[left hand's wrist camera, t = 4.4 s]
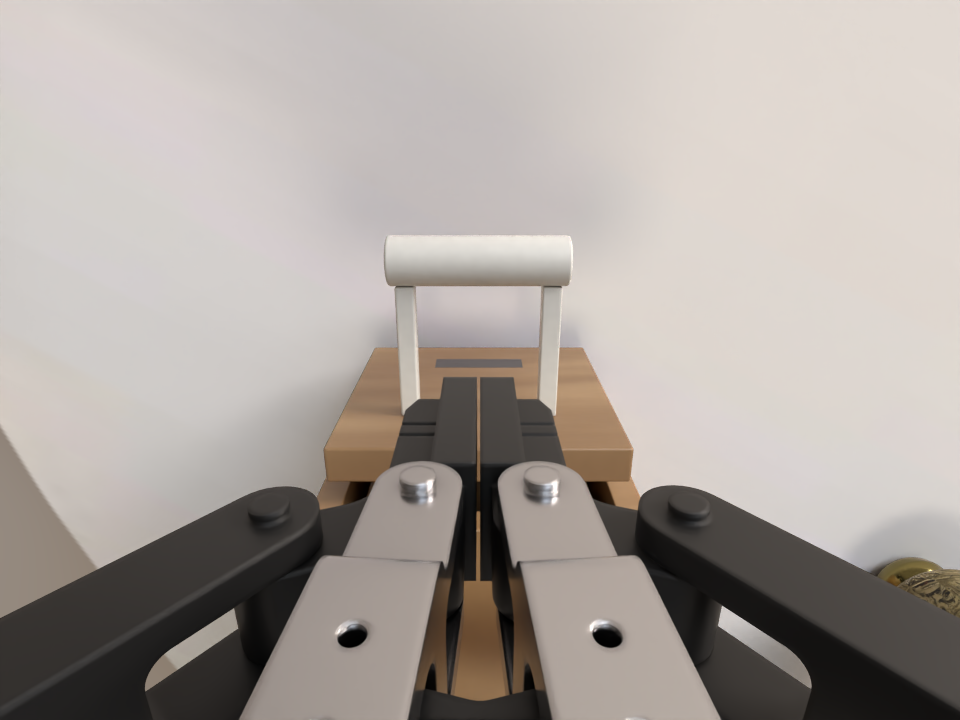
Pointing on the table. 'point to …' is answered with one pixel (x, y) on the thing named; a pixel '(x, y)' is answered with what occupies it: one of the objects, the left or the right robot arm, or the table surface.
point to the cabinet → (479, 594)
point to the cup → (926, 582)
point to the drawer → (478, 358)
